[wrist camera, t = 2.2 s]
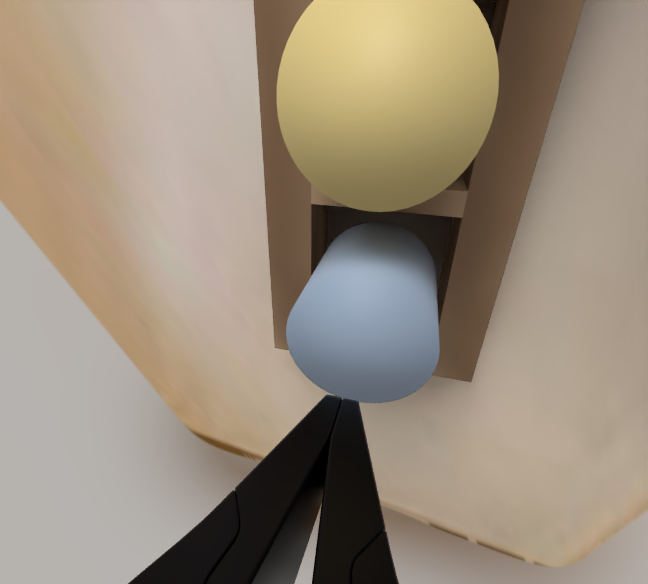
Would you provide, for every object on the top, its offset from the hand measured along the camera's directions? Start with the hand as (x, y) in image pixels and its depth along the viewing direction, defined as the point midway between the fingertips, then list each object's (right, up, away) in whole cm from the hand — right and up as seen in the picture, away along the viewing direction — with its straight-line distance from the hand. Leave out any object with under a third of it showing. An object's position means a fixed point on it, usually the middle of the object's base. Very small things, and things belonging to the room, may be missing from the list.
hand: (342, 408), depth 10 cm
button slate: (+2, +4, +7) cm, 8 cm away
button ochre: (+2, +10, +3) cm, 10 cm away
